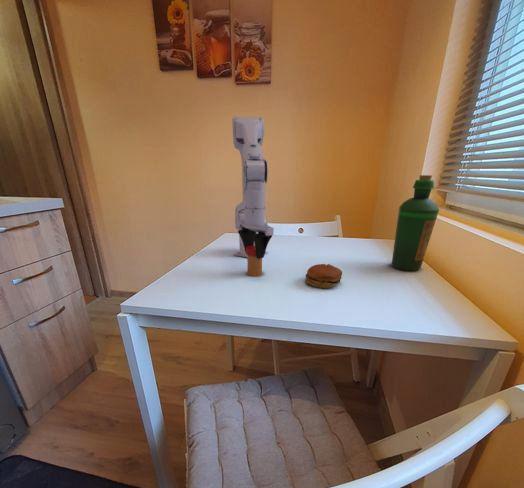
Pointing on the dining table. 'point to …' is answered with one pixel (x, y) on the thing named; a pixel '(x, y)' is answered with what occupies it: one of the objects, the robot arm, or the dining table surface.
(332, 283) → the burger
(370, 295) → the dining table surface
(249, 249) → the jar lid
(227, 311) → the dining table surface
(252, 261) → the honey jar
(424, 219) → the bottle
